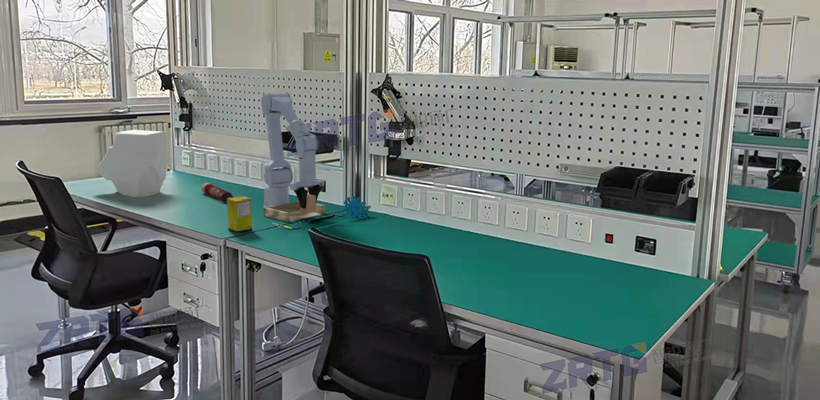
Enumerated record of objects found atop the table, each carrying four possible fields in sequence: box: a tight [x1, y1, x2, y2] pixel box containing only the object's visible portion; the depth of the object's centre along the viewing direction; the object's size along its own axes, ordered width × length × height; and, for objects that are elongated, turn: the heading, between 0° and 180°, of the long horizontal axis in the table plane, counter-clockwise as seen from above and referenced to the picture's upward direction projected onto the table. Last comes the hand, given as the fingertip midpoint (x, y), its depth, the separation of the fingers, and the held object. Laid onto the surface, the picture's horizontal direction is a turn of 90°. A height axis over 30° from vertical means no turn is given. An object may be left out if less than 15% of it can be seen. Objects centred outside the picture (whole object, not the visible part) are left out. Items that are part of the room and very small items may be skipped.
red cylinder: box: [201, 182, 234, 204], centre depth 262 cm, size 5×5×30 cm
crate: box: [263, 200, 326, 223], centre depth 234 cm, size 13×18×4 cm
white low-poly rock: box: [95, 129, 169, 198], centre depth 269 cm, size 21×27×26 cm
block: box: [300, 193, 317, 213], centre depth 229 cm, size 4×4×6 cm
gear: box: [343, 195, 372, 221], centre depth 235 cm, size 11×6×10 cm
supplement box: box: [226, 195, 253, 234], centre depth 212 cm, size 6×6×11 cm
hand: (308, 207), depth 229 cm, fingers closed on block, 4 cm apart
